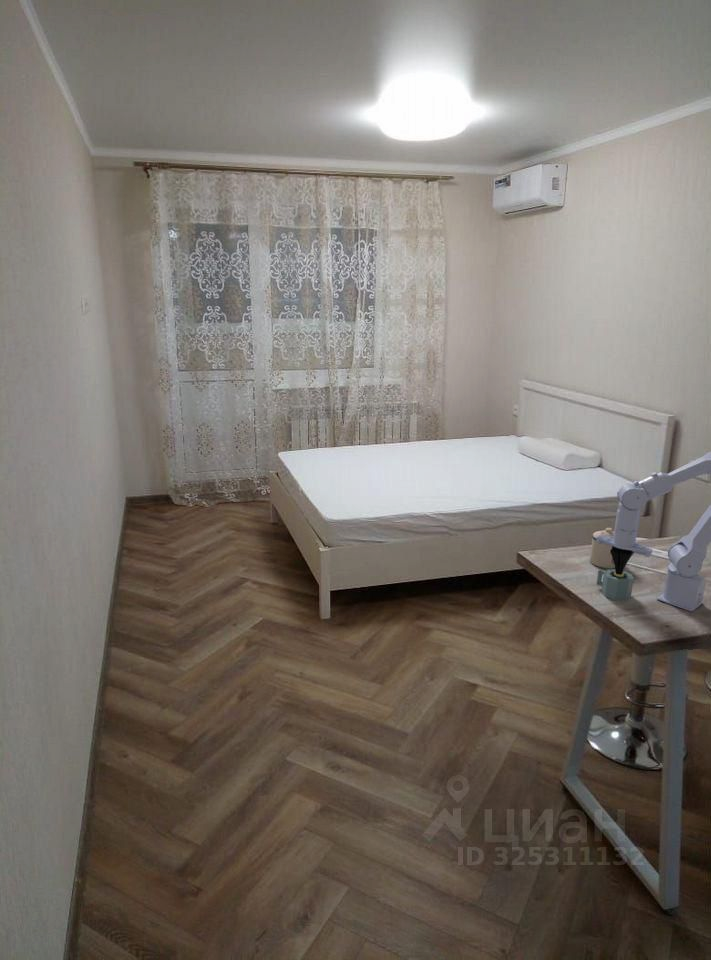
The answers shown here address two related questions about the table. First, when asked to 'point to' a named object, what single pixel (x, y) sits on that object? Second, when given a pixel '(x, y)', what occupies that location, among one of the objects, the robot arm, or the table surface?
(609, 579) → the tea press body
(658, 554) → the photo frame
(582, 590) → the table surface
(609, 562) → the teacup with lid
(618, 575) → the plunger
